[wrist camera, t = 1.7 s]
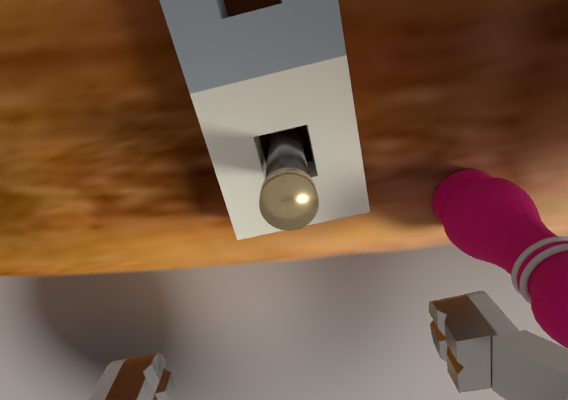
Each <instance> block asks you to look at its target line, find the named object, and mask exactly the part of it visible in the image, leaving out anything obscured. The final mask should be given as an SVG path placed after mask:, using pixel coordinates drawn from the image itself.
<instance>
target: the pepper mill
mask: <svg viewBox="0 0 568 400" xmlns="http://www.w3.org/2000/svg"><path fill="white" fill-rule="evenodd" d="M432 206H433V211H434V214H435V216H436V217H437V219H438V220H439V221H440V222H441V223H442V224H443V225H444V229H445V232H446V234H447V236H448V238H449V239H450V241H451V242H452V243H453V244H454V245H456V246H457V247H458V248H459V249H460V250H461V251H463V252H464V253H466V254H468V255H470V256H472V257H474V258H476V259H479V260H483V261H486V262H490V263H493V264H496V265H498V266H499V267H502V268H503V269H505V270H506V271H507V272H508V273H510V274H511V277H512V283H513V286H514V288H515V289H516V290H517V292H519V293H520V294H521V295H522V296H523V297H524V298H525V300H526V301H527V302H529V303H530V304H531V306H532V307H531V308H532V311H533V314H534V317H535V319H536V321H537V322H538V323H539V325H540V326H541V328H542V329H543V330H544V331H545V332H546V333H547V334H548V335H549V336H550V337H551V338H552V339H554V340H555V341H557V342H558V343H560V344H561V345H563V346H564V347H566V348H568V237H558V236H556V235H555V234H554V233H552V232H551V231H550V230H549V229H548V228H547V227H546V226H545V225H544V224H543V222H542V221H541V219H540V216H539V213H538V210H537V208H536V206H535V204H534V202H533V201H532V199H531V198H530V196H529V195H528V194H527V193H526V192H525V191H524V190H522V189H521V188H520V187H518V186H517V185H516V184H514V183H513V182H510V181H508V180H505V179H501V178H493V177H491V176H489V175H488V174H486V173H484V172H482V171H479V170H475V169H467V170H462V171H458V172H456V173H454V174H452V175H450V176H448V177H447V178H446V179H444V180H443V181H442V183H441V184H440V185H439V186H438V187H437V189H436V192H435V194H434V196H433V202H432Z"/></svg>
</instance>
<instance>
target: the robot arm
mask: <svg viewBox="0 0 568 400" xmlns="http://www.w3.org/2000/svg"><path fill="white" fill-rule="evenodd" d="M429 313H430V315H431V317H432V318H433V321H432V322H431V324H430V327H431V334H432V338H433V342H434V344H435V347H436V350H437V352H438V354H439V356H440V358H441V359H443V360H445V361H446V362H447V367H448V373H449V375H450V377H451V378H452V380H453V382H454V384H455V386H456V388H457V389H458V391H459V392H467V391H474V390H481V389H489V388H492V390H493V391H495V392H496V393H498V394H499V395H500V396H502V397H503V398H504V399H506V400H568V349H566V348H564V347H562V346H559V345H557V344H555V343H553V342H550V341H548V340H546V339H544V338H542V337H539V336H537V335H535V334H533V333H530V332H528V331H526V330H523V331H519V330H518V329H517V328H516V327H515V325H514V324H513V323H512V322H511V321H510V320H509V318H508V317H507V316H506V315H505V314H504V313H503V312H502V310H501V309H500V308H499V307H498V306H497V305H496V304H495V302H494V301H493V300H492V299H491V298H490V297H489V295H488V294H487V293H486V292H484V291H478V292H473V293H468V294H464V295H459V296H455V297H450V298H445V299H440V300H435V301H430V302H429ZM165 363H166V361H165V360H164V358H163V356H162V354H153V355H147V356H141V357H135V358H129V359H126V360H119V361H113V362H111V363H110V364H109V365H108V366H107V368H106V370H105V371H104V373H103V375H102V377H101V379H100V380H99V382H98V384H97V386H96V388H95V390H94V392H93V394H92V395H91V397H90V399H89V400H175V389H176V386H175V382H174V378H173V376H172V374H171V372H169V371H167V370H165V369H164V366H165Z"/></svg>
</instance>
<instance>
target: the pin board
mask: <svg viewBox="0 0 568 400" xmlns="http://www.w3.org/2000/svg"><path fill="white" fill-rule="evenodd" d="M280 2H281V4H277V5H273V6H270V7H266V8H262V9H258V10H254V11H251V12H247V13H243V14H239V15H235V16H232V17H228V15H227V11H226V7H225V4H224V0H160V4H161V7H162V10H163V13H164V16H165V19H166V22H167V25H168V28H169V31H170V34H171V37H172V40H173V44H174V47H175V50H176V53H177V56H178V59H179V62H180V65H181V68H182V71H183V74H184V77H185V80H186V84H187V87H188V90H189V93H190V96H191V99H192V102H193V105H194V108H195V111H196V114H197V117H198V120H199V124H200V127H201V130H202V133H203V136H204V139H205V142H206V145H207V148H208V151H209V154H210V157H211V160H212V164H213V167H214V170H215V173H216V176H217V179H218V182H219V185H220V188H221V191H222V194H223V197H224V200H225V204H226V207H227V210H228V213H229V216H230V219H231V222H232V225H233V228H234V231H235V234H236V237H237V240H240V239H245V238H250V237H255V236H259V235H264V234H269V233H274V232H278V231H283V230H280V229H277V228H275V227H273V226H271V225H270V224H269V223H267V221H266V220H265V219H264V218H263V216H262V214H261V212H260V208H259V198H260V191H261V186H262V184H263V182H264V180H265V177H266V168H267V164H266V160H265V156H264V152H263V148H262V145H261V141H260V137H259V136H261V135H265V134H269V133H273V132H278V131H282V130H286V129H290V128H295V127H299V126H303V125H306V128H307V132H308V137H309V142H310V147H311V152H312V156H313V161H309V162H307V167H308V171H309V175H310V177H311V179H312V180H313V182H314V184H315V187H316V190H317V194H318V199H319V207H318V211H317V214H316V216H315V217H314V219H313V220H312V221H311V222H310V223H309V224H308V225H312V224H316V223H321V222H326V221H331V220H335V219H340V218H345V217H350V216H354V215H359V214H364V213H369V212H370V207H369V201H368V194H367V188H366V181H365V174H364V168H363V161H362V154H361V148H360V141H359V135H358V128H357V121H356V115H355V108H354V101H353V95H352V88H351V82H350V75H349V68H348V62H347V55H346V48H345V42H344V35H343V29H342V22H341V15H340V9H339V2H338V0H280ZM306 226H307V225H306Z"/></svg>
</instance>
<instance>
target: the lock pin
mask: <svg viewBox="0 0 568 400" xmlns="http://www.w3.org/2000/svg"><path fill="white" fill-rule="evenodd" d="M318 207H319V199H318V194H317V190H316V187H315V184H314V182H313V180H312V179H311V177H310V175H309V171H308V167H307V162H306V158H305V154H304V149H303V145H302V141H301V137H300V135H299V134H298V133H297V132H296V131H295V130H294V129H291V128H290V129H286V130H282V131H278V132H274V133H273V134H272V136H271V138H270V142H269V151H268V159H267V168H266V177H265V180H264V182H263V184H262V186H261V191H260V198H259V208H260V212H261V214H262V216H263V218H264V219H265V220H266V221H267V223H269V224H270V225H271V226H273V227H275V228H277V229H280V230H286V231H292V230H297V229H300V228H303V227H304V226H306V225H308V224H309V223H310V222H311V221H312V220H313V219H314V217H315V216H316V214H317V211H318Z"/></svg>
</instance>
